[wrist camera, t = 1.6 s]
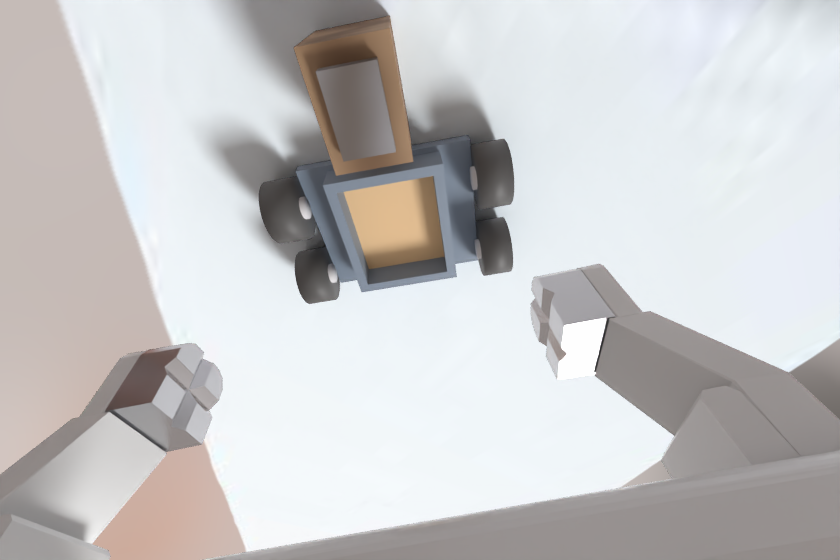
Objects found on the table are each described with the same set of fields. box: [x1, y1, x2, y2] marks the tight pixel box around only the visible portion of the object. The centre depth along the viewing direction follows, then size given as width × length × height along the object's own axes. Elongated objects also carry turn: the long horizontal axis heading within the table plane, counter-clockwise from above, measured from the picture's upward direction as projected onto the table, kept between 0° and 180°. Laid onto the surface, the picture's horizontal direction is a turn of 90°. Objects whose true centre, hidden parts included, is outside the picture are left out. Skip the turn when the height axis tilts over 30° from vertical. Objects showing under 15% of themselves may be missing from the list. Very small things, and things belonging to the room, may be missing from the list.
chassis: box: [259, 135, 514, 304], centre depth 31 cm, size 19×12×5 cm, turn 99°
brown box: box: [294, 16, 413, 176], centre depth 23 cm, size 5×7×8 cm
